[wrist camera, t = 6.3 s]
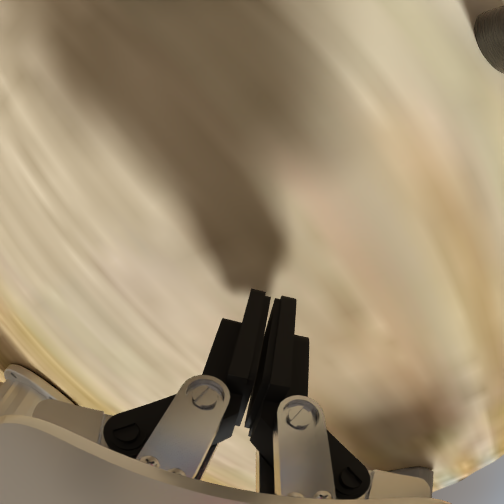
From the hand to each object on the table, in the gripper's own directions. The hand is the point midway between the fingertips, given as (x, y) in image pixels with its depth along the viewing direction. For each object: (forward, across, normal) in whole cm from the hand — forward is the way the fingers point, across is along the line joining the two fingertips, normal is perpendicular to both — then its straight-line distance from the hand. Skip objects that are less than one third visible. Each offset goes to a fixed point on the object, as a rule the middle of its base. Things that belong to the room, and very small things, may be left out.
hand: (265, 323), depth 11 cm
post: (+2, -6, -13) cm, 15 cm away
